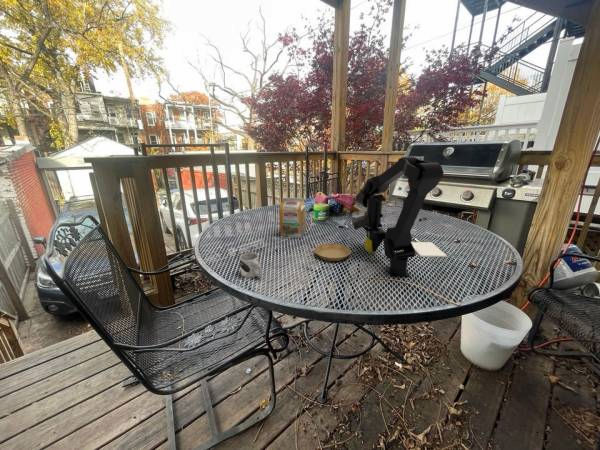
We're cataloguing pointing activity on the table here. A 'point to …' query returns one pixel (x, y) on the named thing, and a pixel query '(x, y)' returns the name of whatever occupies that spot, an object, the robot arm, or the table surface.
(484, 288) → the table surface
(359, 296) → the table surface
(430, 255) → the placemat
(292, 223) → the plastic snack jar
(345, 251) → the plant saucer
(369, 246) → the lemon
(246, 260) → the mug
